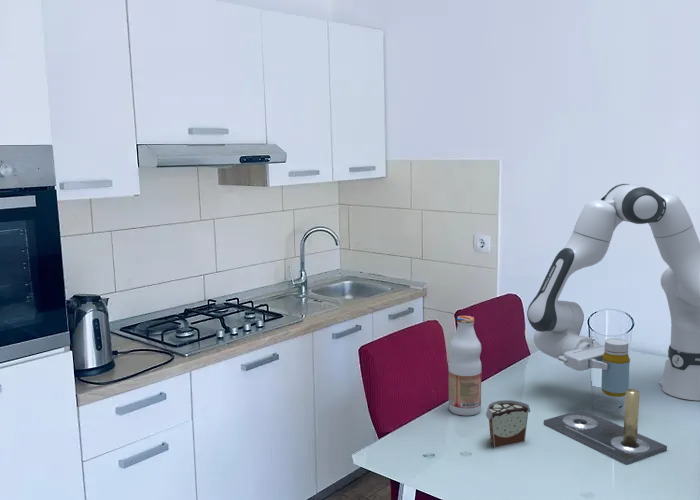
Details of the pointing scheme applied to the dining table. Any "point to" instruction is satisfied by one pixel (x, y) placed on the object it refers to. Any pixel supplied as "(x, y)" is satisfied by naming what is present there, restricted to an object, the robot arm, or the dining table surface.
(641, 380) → the dining table surface
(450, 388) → the fruit juice
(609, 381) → the bottle
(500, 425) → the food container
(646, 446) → the gauge plate
